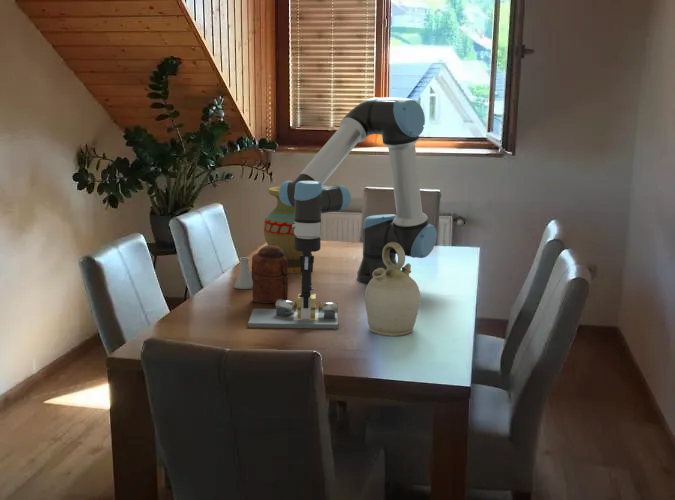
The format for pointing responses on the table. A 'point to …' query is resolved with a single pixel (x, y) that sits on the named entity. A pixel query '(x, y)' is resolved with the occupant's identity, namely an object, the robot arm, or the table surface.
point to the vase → (282, 231)
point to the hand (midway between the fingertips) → (306, 315)
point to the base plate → (289, 320)
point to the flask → (244, 275)
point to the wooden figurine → (269, 275)
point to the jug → (392, 296)
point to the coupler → (313, 306)
